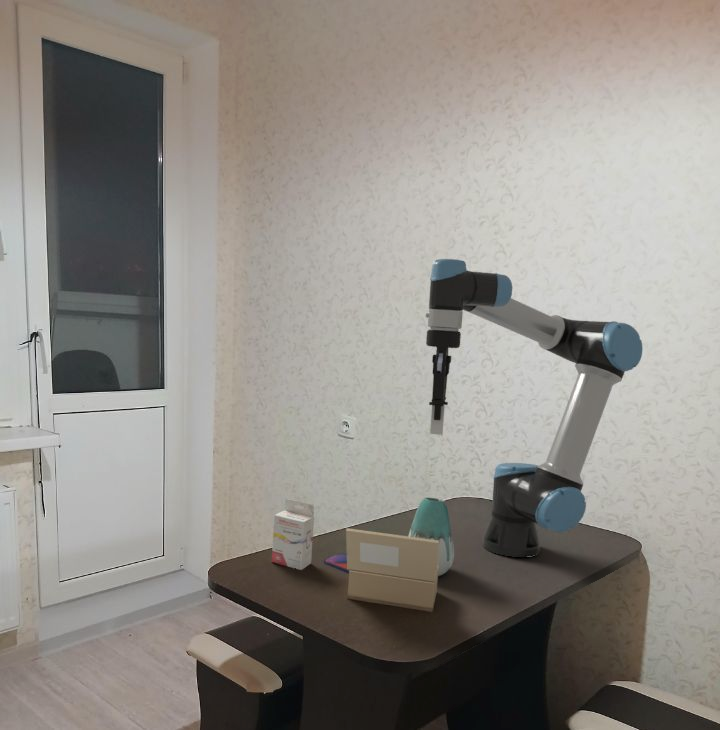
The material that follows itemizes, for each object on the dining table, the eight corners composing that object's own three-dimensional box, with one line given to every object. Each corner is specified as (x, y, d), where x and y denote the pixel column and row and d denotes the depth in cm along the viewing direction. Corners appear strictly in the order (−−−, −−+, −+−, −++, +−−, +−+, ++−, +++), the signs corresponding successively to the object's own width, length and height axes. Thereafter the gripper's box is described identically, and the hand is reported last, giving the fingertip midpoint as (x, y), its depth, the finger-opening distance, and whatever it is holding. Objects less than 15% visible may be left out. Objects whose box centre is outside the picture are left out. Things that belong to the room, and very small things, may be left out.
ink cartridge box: (270, 562, 150) (273, 502, 149) (281, 556, 155) (284, 497, 154) (301, 570, 147) (305, 509, 146) (312, 563, 151) (315, 503, 150)
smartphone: (341, 556, 159) (341, 552, 158) (389, 574, 149) (389, 569, 149) (321, 564, 153) (321, 560, 153) (369, 583, 143) (369, 578, 143)
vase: (424, 558, 160) (429, 488, 158) (462, 573, 151) (467, 500, 150) (393, 569, 151) (398, 495, 150) (431, 585, 143) (437, 508, 142)
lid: (438, 540, 126) (438, 543, 125) (436, 581, 130) (436, 584, 129) (346, 528, 129) (345, 531, 128) (348, 568, 134) (347, 571, 133)
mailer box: (436, 592, 140) (438, 565, 140) (432, 612, 130) (434, 583, 130) (357, 580, 144) (359, 554, 143) (347, 598, 134) (349, 571, 133)
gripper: (430, 328, 148) (422, 427, 150) (424, 328, 135) (416, 437, 137) (462, 330, 147) (454, 430, 148) (459, 330, 134) (451, 440, 136)
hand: (436, 433), depth 143 cm, fingers closed
